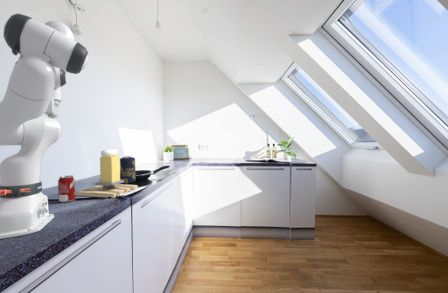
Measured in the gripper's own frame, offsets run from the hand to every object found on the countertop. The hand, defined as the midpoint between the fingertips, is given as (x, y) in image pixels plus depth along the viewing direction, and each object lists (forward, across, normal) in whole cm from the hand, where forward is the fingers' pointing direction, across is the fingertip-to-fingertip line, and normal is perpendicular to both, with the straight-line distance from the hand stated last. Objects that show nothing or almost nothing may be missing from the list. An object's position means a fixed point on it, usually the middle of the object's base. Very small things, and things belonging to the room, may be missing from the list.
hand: (51, 125), depth 115 cm
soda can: (+37, -6, -5) cm, 38 cm away
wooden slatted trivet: (+37, +5, -24) cm, 44 cm away
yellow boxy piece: (+32, +5, -24) cm, 41 cm away
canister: (+37, +27, -37) cm, 59 cm away
